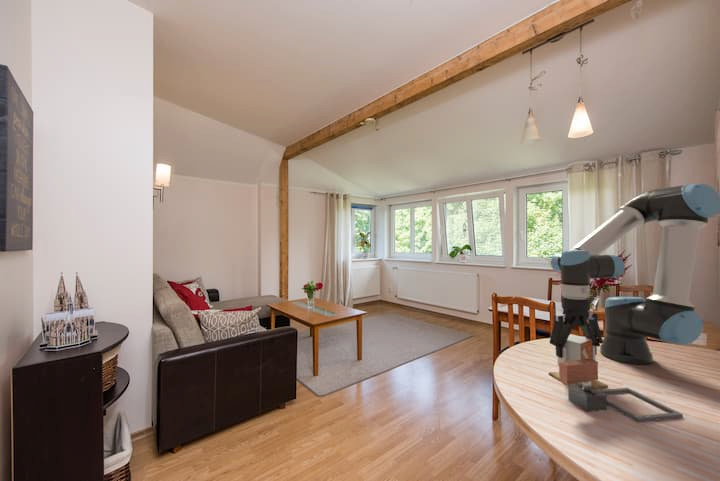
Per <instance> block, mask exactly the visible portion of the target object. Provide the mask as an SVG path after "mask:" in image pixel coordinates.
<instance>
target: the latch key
mask: <svg viewBox="0 0 720 481" xmlns="http://www.w3.org/2000/svg"><path fill="white" fill-rule="evenodd" d="M558 370H559V371H558V372H559V380H558V381H559V382H561V383H563V384H564V383H565V385H566V384H567V386H568V384H574V383H580V382H582V389H583V390H585V391H591V381H593V380H598V381H599V362H598V361H597V360H596V361H595V360H592V359H590V358H588V359H581V360H574V361H566V362H559V366H558Z"/></svg>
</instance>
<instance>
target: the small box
mask: <svg viewBox="0 0 720 481" xmlns="http://www.w3.org/2000/svg"><path fill="white" fill-rule="evenodd" d="M564 348H566V361H574V360H581V359H588V358H590V359H592V339H589V338H586V337H585V336H581V335H577V334H572V333H570V335H569V337H568V339H567V341H566V343H565V345H564ZM577 384H580V385H582V382H580V383H577Z"/></svg>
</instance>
